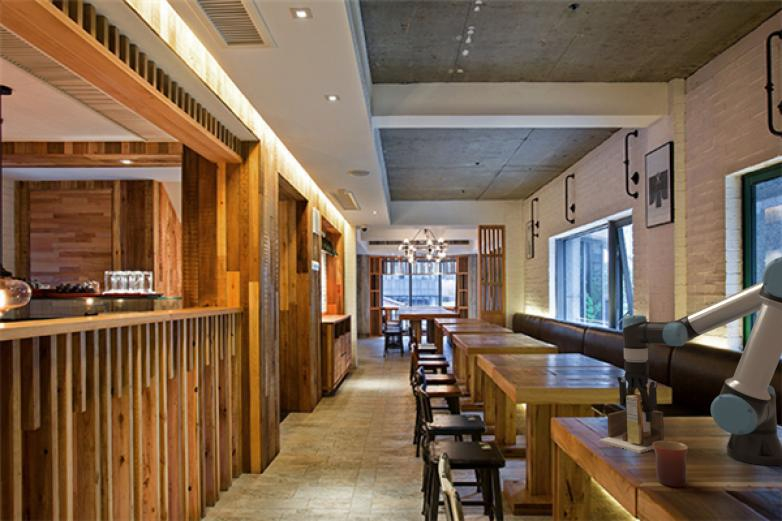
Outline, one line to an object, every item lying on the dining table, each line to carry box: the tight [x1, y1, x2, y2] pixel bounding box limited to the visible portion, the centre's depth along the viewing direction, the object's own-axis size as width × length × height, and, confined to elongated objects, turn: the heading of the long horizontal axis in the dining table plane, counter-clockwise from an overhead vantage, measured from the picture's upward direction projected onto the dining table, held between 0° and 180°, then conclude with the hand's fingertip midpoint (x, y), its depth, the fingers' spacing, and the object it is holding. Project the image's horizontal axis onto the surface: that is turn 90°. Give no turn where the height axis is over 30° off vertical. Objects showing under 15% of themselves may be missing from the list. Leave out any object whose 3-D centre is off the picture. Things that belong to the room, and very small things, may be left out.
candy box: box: [626, 392, 651, 444], centre depth 176 cm, size 9×4×15 cm, turn 129°
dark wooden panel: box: [607, 409, 628, 438], centre depth 185 cm, size 1×10×9 cm, turn 123°
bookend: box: [623, 410, 665, 447], centre depth 178 cm, size 9×10×11 cm
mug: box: [652, 440, 689, 488], centre depth 144 cm, size 12×9×10 cm
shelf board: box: [599, 435, 654, 454], centre depth 178 cm, size 15×15×1 cm
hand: (639, 429), depth 176 cm, fingers closed on candy box, 4 cm apart
